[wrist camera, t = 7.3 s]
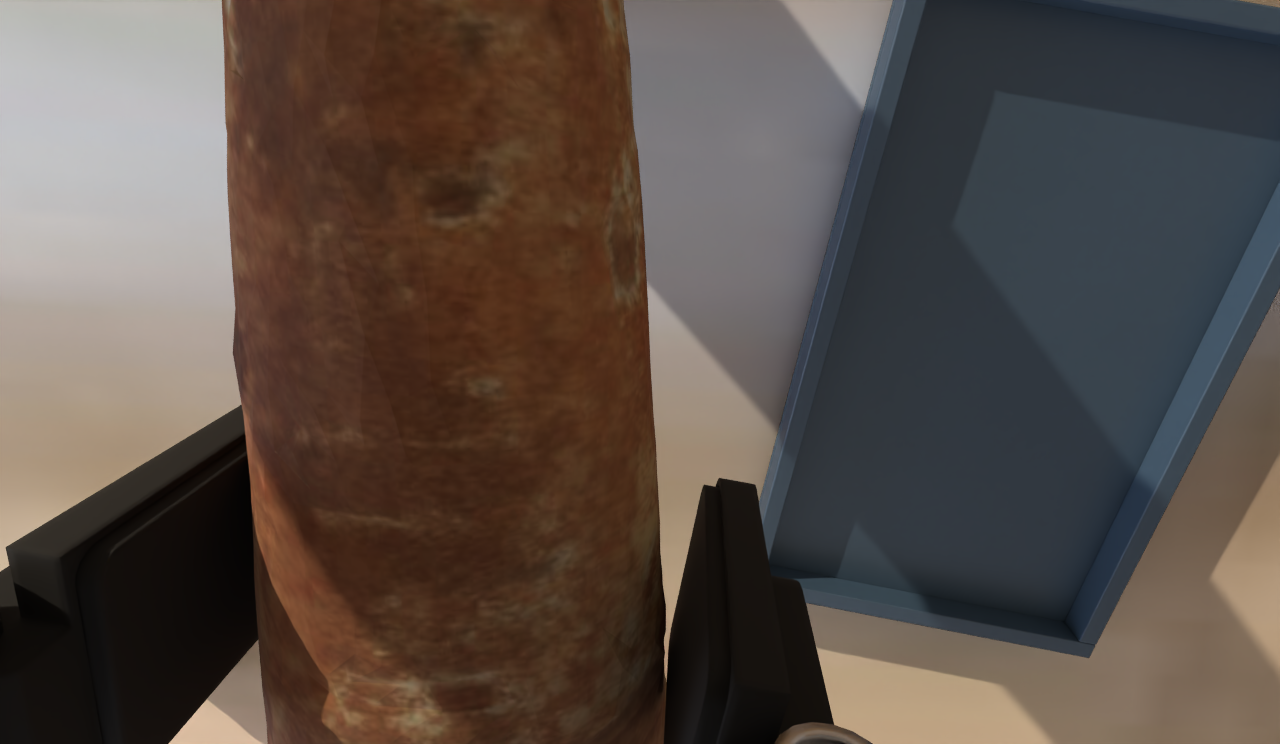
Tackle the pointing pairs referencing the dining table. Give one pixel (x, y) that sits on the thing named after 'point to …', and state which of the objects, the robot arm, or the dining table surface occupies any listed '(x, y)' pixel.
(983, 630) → the tray
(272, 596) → the bread
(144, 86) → the dining table surface
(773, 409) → the dining table surface
